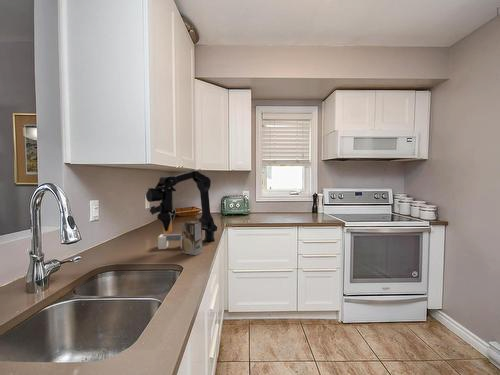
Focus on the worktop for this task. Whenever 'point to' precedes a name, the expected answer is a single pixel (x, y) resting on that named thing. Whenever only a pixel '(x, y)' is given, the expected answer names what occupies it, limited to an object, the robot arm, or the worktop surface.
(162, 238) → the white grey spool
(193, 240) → the coffee box
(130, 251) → the worktop surface
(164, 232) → the orange u-channel
